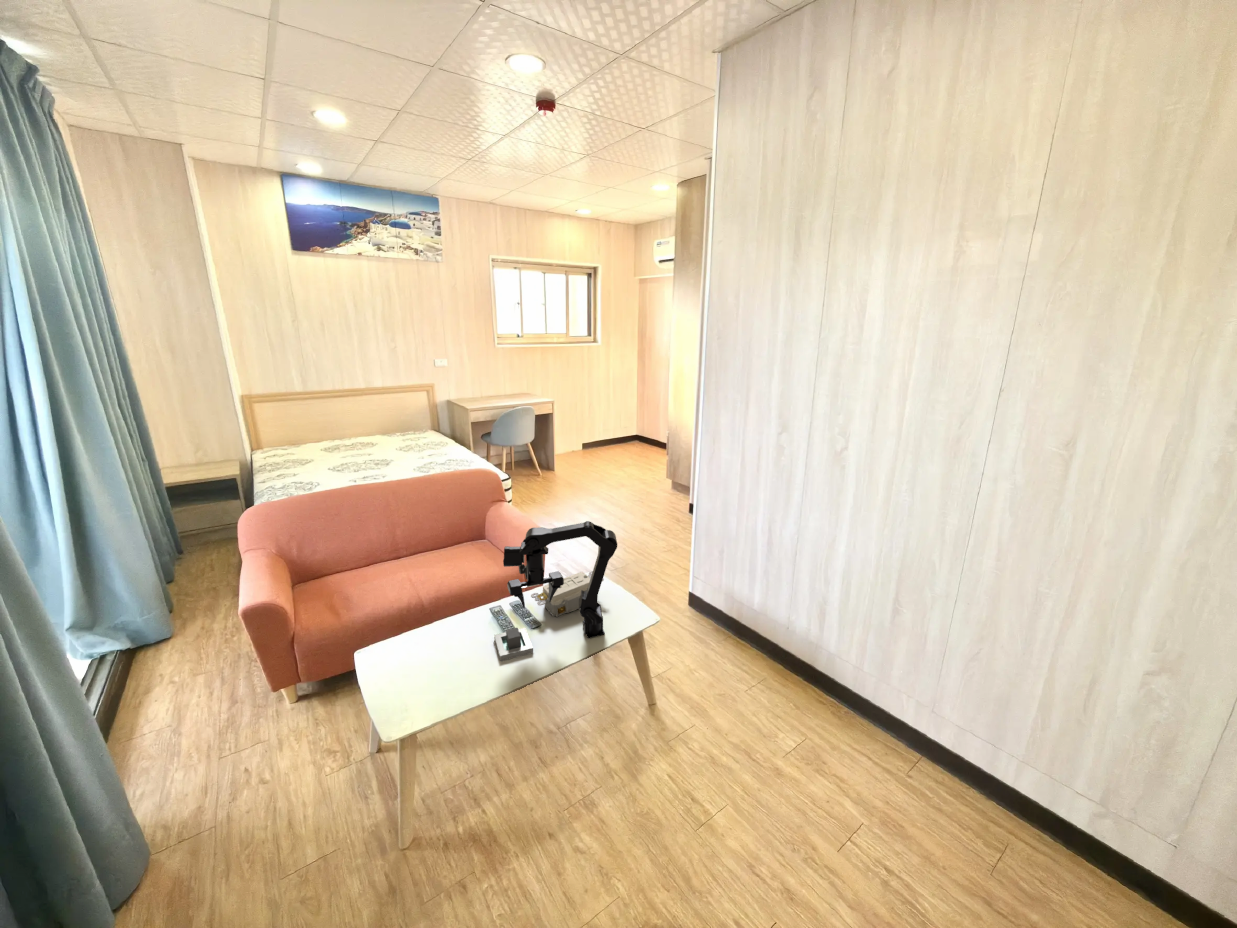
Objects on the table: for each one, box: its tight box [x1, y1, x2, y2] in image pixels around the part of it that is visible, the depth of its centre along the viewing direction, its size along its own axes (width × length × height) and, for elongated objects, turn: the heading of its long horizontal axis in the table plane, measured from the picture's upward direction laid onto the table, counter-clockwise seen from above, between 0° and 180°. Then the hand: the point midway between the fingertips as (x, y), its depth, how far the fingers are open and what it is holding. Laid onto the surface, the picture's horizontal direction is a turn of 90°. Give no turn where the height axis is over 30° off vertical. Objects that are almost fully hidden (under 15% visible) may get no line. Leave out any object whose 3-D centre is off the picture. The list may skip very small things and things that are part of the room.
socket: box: [493, 627, 534, 662], centre depth 166 cm, size 11×12×2 cm
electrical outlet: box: [530, 570, 604, 618], centre depth 190 cm, size 12×28×10 cm, turn 123°
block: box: [505, 627, 521, 650], centre depth 166 cm, size 4×5×5 cm
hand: (536, 604), depth 169 cm, fingers open, 9 cm apart
